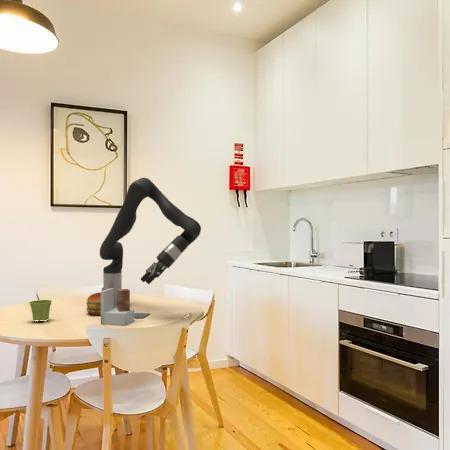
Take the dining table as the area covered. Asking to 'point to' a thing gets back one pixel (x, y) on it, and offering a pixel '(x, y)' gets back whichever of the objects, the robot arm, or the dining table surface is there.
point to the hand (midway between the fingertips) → (144, 281)
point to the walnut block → (123, 300)
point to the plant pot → (40, 309)
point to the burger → (94, 304)
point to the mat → (141, 315)
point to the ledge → (113, 310)
